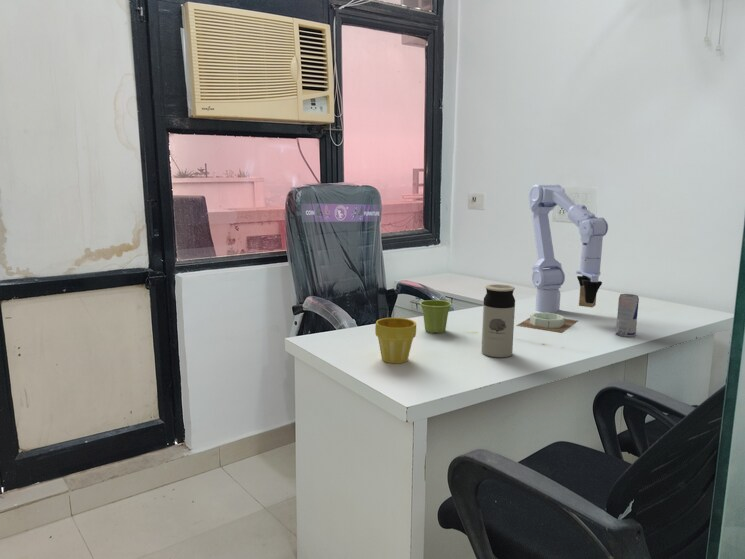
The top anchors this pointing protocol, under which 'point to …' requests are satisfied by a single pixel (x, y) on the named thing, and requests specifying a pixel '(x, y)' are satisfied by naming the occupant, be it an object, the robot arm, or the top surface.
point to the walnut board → (567, 324)
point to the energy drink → (627, 315)
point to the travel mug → (498, 320)
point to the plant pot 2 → (435, 315)
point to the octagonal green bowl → (547, 320)
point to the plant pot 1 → (395, 338)
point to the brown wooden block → (582, 299)
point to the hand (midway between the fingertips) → (587, 300)
